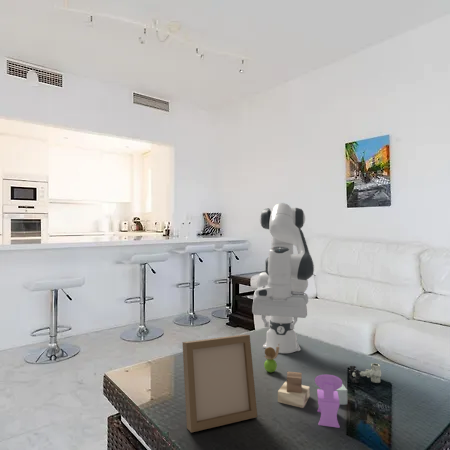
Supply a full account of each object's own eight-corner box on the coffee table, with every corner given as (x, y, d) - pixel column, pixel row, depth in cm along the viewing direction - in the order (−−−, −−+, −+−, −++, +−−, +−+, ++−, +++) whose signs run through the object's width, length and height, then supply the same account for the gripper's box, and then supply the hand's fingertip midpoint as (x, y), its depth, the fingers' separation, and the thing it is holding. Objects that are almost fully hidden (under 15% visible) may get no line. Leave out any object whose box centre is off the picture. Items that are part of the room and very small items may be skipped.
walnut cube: (287, 385, 124) (287, 371, 124) (301, 386, 123) (301, 372, 123) (286, 391, 119) (286, 377, 119) (301, 393, 118) (301, 378, 118)
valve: (375, 377, 141) (348, 379, 139) (375, 361, 141) (348, 362, 139) (385, 384, 134) (357, 386, 132) (385, 367, 134) (357, 369, 132)
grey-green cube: (328, 397, 123) (328, 383, 123) (342, 397, 123) (342, 383, 123) (332, 404, 118) (333, 390, 118) (347, 404, 118) (347, 390, 118)
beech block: (285, 392, 127) (285, 381, 128) (309, 397, 123) (309, 386, 123) (277, 402, 119) (277, 391, 120) (303, 409, 115) (303, 397, 115)
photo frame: (257, 420, 108) (258, 340, 108) (191, 436, 99) (192, 348, 100) (237, 398, 121) (237, 327, 122) (177, 411, 113) (178, 334, 113)
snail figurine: (279, 375, 142) (279, 346, 142) (263, 373, 143) (263, 344, 143) (279, 370, 147) (279, 342, 147) (264, 368, 148) (264, 340, 148)
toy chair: (340, 413, 112) (340, 367, 113) (343, 428, 104) (343, 378, 104) (314, 410, 114) (314, 364, 114) (314, 424, 106) (315, 375, 106)
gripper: (308, 290, 128) (307, 327, 128) (253, 287, 133) (253, 323, 133) (308, 293, 122) (308, 332, 122) (251, 291, 127) (251, 328, 127)
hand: (279, 327), depth 128 cm, fingers open, 8 cm apart
